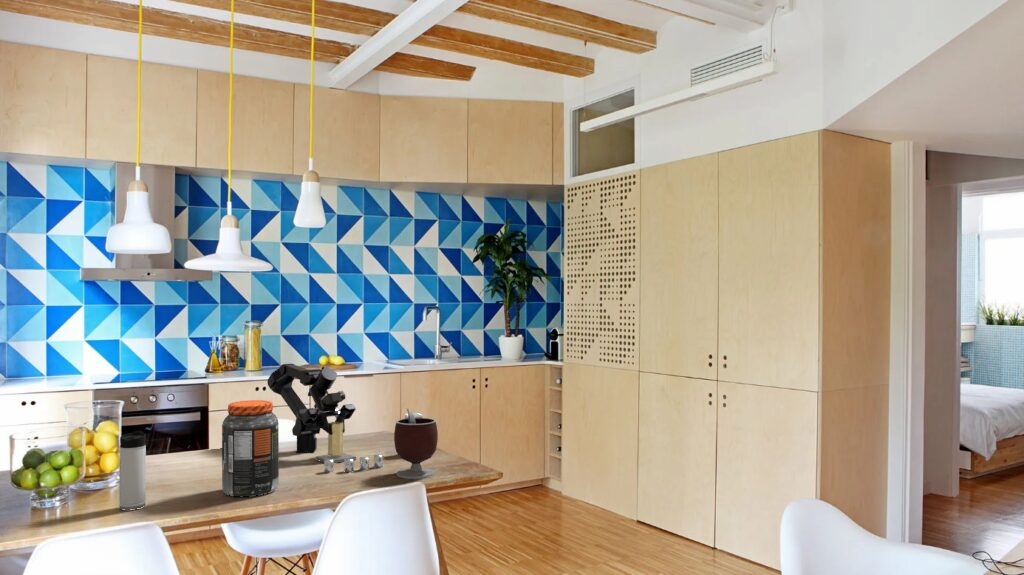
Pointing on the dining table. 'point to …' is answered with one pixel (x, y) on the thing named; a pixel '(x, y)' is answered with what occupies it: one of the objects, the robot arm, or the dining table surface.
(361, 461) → the cylinder
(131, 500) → the travel mug
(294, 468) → the dining table surface
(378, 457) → the cylinder
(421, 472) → the mate gourd
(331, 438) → the tan faceted block
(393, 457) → the dining table surface
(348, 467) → the cylinder
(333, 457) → the coaster
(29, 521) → the dining table surface
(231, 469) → the supplement tub
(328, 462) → the cylinder
